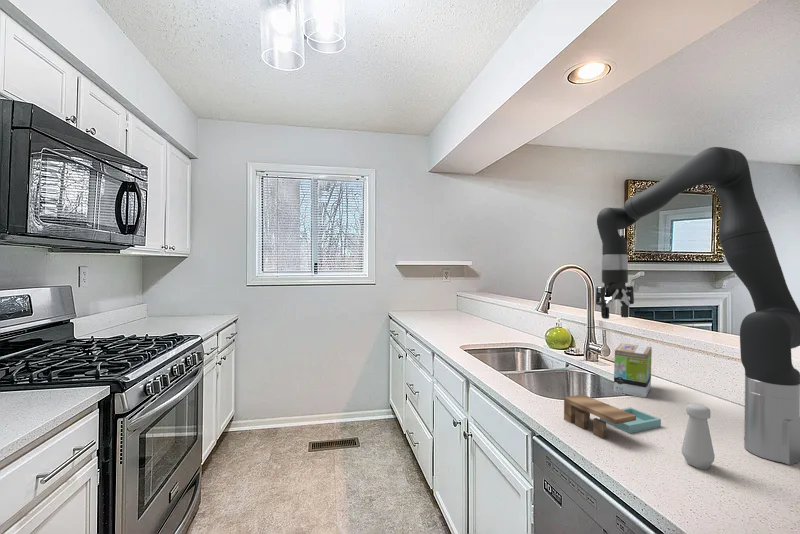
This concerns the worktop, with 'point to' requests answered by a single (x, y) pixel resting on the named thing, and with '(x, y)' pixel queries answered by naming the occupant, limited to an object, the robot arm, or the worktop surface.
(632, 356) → the tea box
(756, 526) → the worktop surface
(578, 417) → the shelf
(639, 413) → the tray
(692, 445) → the salt shaker
